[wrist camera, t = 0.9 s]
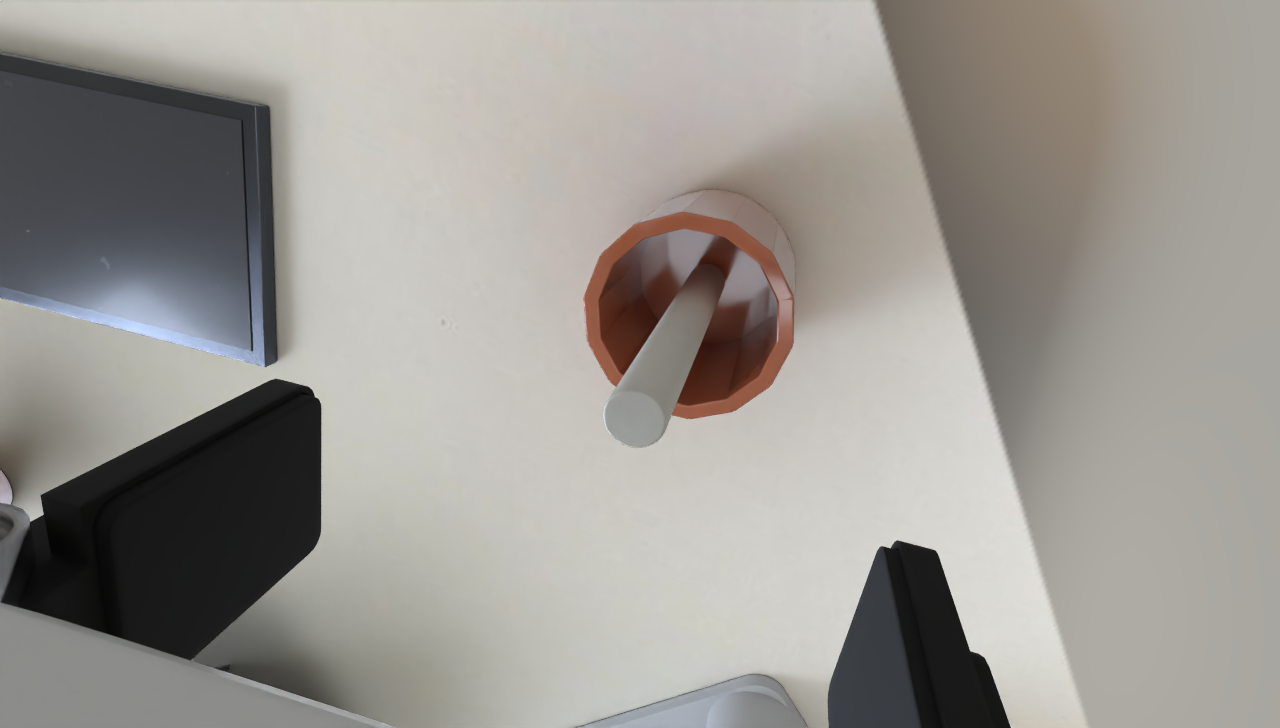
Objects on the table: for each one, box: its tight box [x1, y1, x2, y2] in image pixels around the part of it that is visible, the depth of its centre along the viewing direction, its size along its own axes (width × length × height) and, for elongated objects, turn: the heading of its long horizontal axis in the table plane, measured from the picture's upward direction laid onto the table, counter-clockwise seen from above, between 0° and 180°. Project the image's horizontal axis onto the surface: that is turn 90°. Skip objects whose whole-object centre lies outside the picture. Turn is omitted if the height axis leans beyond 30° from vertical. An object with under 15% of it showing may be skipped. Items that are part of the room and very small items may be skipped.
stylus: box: [603, 264, 725, 448], centre depth 21 cm, size 1×1×14 cm
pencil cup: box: [584, 189, 795, 419], centre depth 25 cm, size 7×7×7 cm
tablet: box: [0, 52, 277, 367], centre depth 33 cm, size 12×16×1 cm
